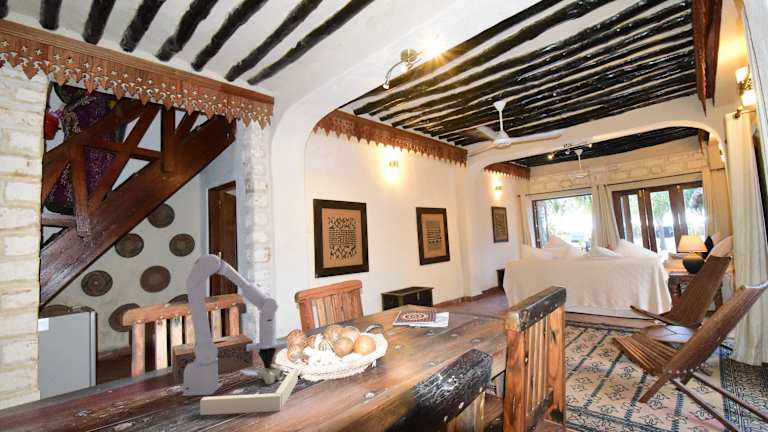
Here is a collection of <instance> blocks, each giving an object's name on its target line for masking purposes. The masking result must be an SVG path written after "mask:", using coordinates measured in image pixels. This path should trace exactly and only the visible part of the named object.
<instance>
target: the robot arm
mask: <svg viewBox="0 0 768 432" xmlns="http://www.w3.org/2000/svg"><path fill="white" fill-rule="evenodd" d="M214 274H216V275H217V274H218V275H221V276H225V277H226V278H227V279H228V280H230V281H231V282H232V283H233V284H234V285H236V286H237V287H238V288H240V289H241V296H242V297H244V298H245V299H246V300H247V301H248V302H250V304H251V305H253V306H254V307H256V308H257V311H259V318H258V328H259V329H258V334H259V335H258V336H259V337H258V340H259V342H253V344H248V345H247V346H246V351H250V350H253V351H259V352H258V356H259V357H260V358H261V360H262V362H263V366H264V367H263V368H266V369H272V363H273V359H274V356H275V353H276V351H277V350H278V349H286V350H288V349H289V348H290V347H289V346H290V344H289V343H290V342H289V341H279V340H278V341H277V322H276V321H277V319H276V312H277V310H278V307H279V305H278V304H277V301H276V299H274V298H272V297H270V293H269V292H266V291H264V290H263V289H262V288H261V285H260V284H259V283H255V282H249V281H247V279H245V278H244V277H243V275H241V274H240V273H239V272H238V271H236V269H234V267H232V266H231V265H230V264H229V263H227V262H226V261H225V260H223V259H220V257H219V256H218V255H216V254H213V253H212V254H211V253H210V254H209V253H207V254H203V255H201V256H200V257H199V258H198V259H197V260H196V261H195V262H194V263H193V265H192V267H191V269H190V271H189V273H188V275H187V277H186V279H185V287H186V293H187V298H188V303H189V310H190V311H189V312H190V315H191V322H192V327H193V331H194V332H193V333H194V342H195V346H194V354H195V355H196V359H195V360H194V361H193V363H189V364H188V365H187V366H186V368H185V370H184V382H183V391H182V394H181V396H182V397H188V396H204V395H205V396H206V395H210V396H211V395H213V394H214V393H215V392H217V390H219V389H220V388H221V387H222V386H223V385H224V384H223V382H219V374H218V358H216V357H217V355H218V349H217V347H216V346H215V345H214V342H213V340H212V339H213V337H212V333H211V328H210V321H209V316H208V310H207V303H206V299H205V293H204V287H203V284H204V283H205V282H206V281H207V280H208V279H209V277H211V276H212V275H214Z"/></svg>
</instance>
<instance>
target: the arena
mask: <svg viewBox="0 0 768 432" xmlns="http://www.w3.org/2000/svg"><path fill="white" fill-rule="evenodd" d="M298 379H299V377H298V368H292V369H290V371H289V372H288V373H287V375H286V376H285V378H284V379H283V381H282V382H281V384H280V385H279V387H278V388H277V390H276V391H275V393H274V392H273V393H272V392H271V393H254V394H238V395H236V394H234V395H216V396H203V397H202V398H201V399H200V400H199V401H200V402H199V403H200V404H199V405H200V410H199V411H200V416H206V415H208V416H210V415H229V414H244V413H245V414H248V413H262V412H263V413H264V412H267V413H268V412H281V410H282V409H283V407H284V406H285V404H286V402H287V400H288V398H289V396H290V395H291V393H292V391H293V390H294V388H295V387H296V385H297V383H298V382H299V380H298Z"/></svg>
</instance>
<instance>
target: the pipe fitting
mask: <svg viewBox="0 0 768 432" xmlns="http://www.w3.org/2000/svg"><path fill="white" fill-rule="evenodd" d="M257 378H258V379H259V380H263V381H264V382H265V384H266V385H271V384H274V383H275V381H281V380H283V378H284V369H283V368H271V369H266V368H265V367H260V368H259V369H258V371H257Z"/></svg>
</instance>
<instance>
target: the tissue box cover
mask: <svg viewBox="0 0 768 432" xmlns="http://www.w3.org/2000/svg"><path fill="white" fill-rule="evenodd" d="M212 340H213V342H214V345H215V346H216V347H217V349H218V355H217V357H216V358H218V375H222V374H226V373H229V372H234V371H237V370H243V369H248V368H250V367H253V366H254V350H250V351H246V346H247V345H248V344H254V341H253V339H252V338H250V337H249V336H247V335H246V334H244V333H240V334H239V333H238V334H233V335H228V336H223V337H216V338H212ZM194 346H195V341H194V342H189V343H183V344H178V345H172V346H171V349H172V350H171V351H172V352H171V356H172V357H171V362H172V365H171V373H172V377H173V380H174V383H175V385H178V384H184V370H185V368H186V366H187V365H188V364H189V363H193V361H194V360H195V359H196V355H195V354H194Z"/></svg>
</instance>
